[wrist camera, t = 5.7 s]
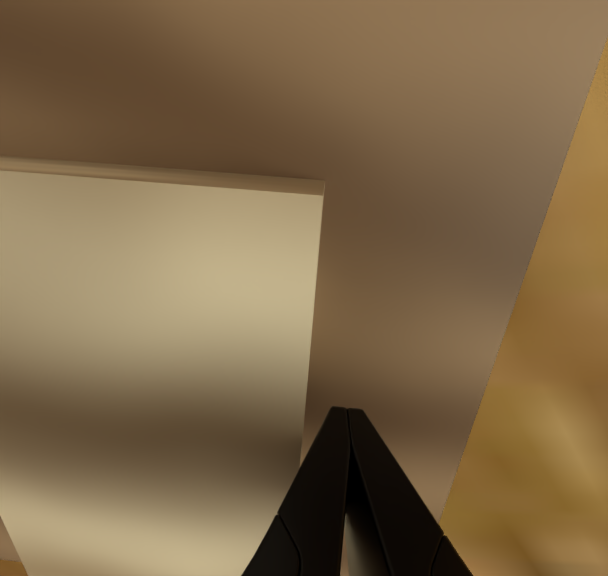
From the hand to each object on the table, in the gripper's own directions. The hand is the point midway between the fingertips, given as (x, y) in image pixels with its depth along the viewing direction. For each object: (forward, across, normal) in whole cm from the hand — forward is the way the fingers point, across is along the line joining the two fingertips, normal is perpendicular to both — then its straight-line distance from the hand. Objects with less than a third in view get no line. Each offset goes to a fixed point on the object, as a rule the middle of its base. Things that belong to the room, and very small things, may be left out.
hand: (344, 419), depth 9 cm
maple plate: (+1, +5, 0) cm, 5 cm away
